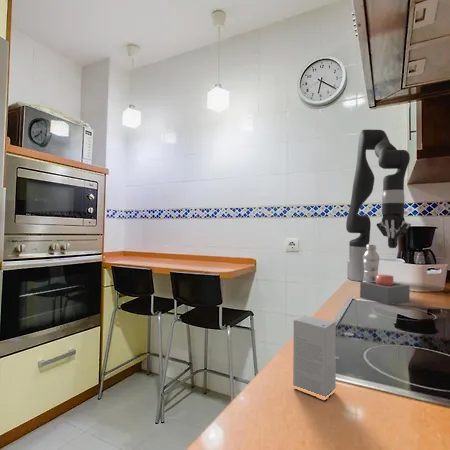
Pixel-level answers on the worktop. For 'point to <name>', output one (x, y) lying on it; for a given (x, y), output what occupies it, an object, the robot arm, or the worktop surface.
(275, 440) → the worktop surface
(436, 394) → the worktop surface
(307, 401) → the worktop surface
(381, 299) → the button box
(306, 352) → the skincare box
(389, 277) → the button
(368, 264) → the plastic bottle
